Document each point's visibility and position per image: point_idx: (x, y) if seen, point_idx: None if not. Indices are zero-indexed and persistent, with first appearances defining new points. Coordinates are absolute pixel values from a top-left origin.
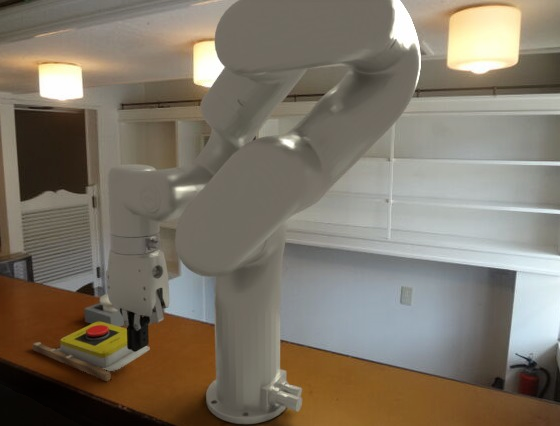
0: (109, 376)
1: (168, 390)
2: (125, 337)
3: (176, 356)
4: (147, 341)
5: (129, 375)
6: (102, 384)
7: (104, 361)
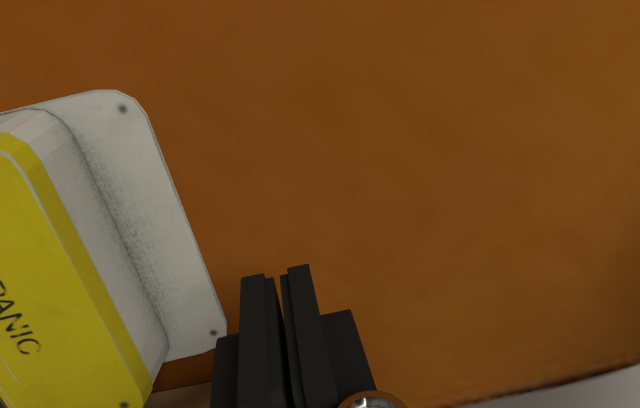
0: None
1: (554, 259)
2: (10, 252)
3: (351, 39)
4: (351, 313)
5: None
6: None
7: (156, 375)
